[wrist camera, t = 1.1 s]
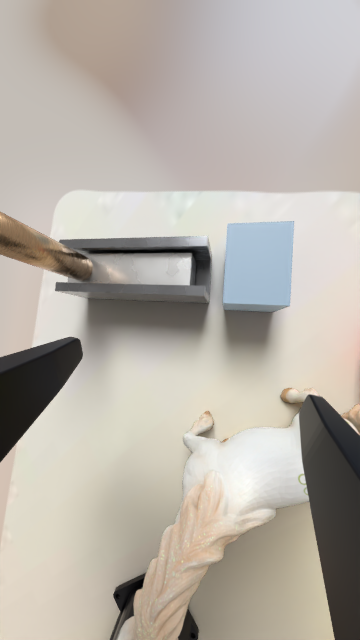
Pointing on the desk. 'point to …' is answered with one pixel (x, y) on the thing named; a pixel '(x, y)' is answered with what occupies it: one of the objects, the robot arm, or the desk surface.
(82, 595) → the desk surface
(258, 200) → the desk surface
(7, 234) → the panel with brass knob
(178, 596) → the unicorn figurine
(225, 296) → the light blue block
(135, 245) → the sleeve
